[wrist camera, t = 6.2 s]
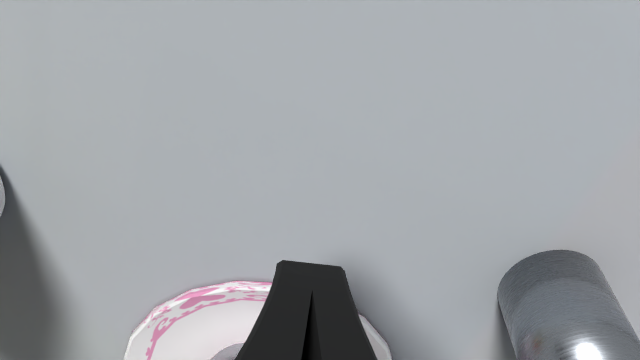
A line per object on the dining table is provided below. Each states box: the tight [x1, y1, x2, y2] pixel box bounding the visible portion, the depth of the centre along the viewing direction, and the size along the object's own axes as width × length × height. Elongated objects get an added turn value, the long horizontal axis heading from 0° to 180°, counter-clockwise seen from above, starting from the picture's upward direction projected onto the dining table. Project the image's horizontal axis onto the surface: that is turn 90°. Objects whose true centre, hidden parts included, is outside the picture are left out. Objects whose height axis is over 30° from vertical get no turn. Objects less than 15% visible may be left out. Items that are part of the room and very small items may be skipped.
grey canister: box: [497, 250, 640, 360], centre depth 21 cm, size 4×4×5 cm
